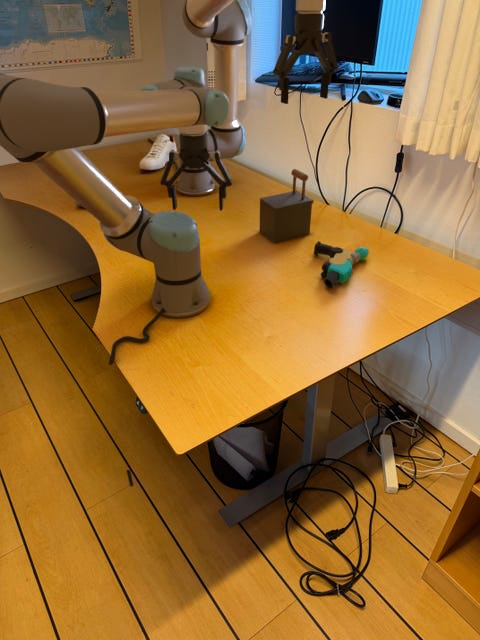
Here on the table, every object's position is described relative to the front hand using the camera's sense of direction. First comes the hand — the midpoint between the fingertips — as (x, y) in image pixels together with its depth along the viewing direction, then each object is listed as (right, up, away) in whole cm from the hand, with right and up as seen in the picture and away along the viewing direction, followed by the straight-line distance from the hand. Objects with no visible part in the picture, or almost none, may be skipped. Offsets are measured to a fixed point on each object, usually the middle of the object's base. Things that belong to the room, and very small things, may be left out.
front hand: (198, 208), depth 139 cm
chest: (+27, -4, +20) cm, 34 cm away
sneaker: (-25, +39, +79) cm, 92 cm away
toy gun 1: (-40, +12, +42) cm, 60 cm away
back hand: (+31, +31, -2) cm, 43 cm away
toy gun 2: (+39, -18, 0) cm, 43 cm away
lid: (+27, +5, +14) cm, 31 cm away
